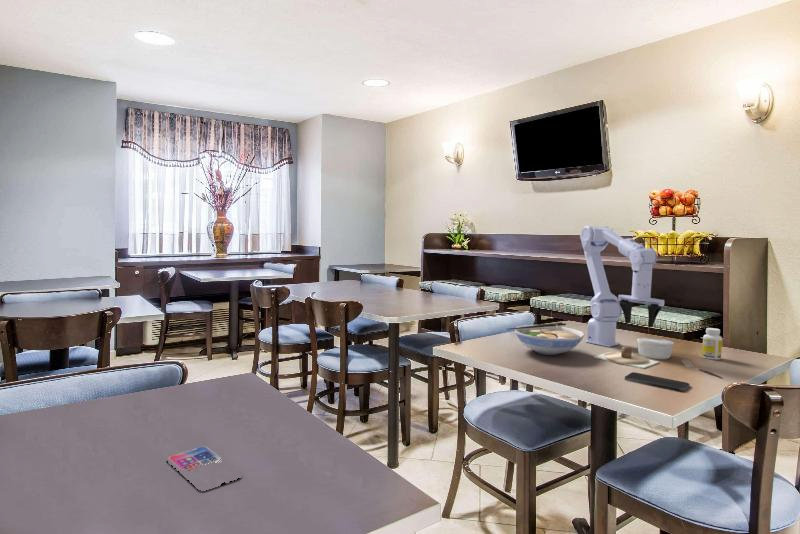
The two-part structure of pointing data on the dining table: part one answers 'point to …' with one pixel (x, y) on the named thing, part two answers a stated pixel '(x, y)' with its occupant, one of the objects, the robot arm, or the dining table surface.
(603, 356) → the mat
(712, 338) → the supplement bottle
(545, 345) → the ramen bowl
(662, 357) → the ramekin
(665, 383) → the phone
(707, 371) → the fork
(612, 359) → the lid
